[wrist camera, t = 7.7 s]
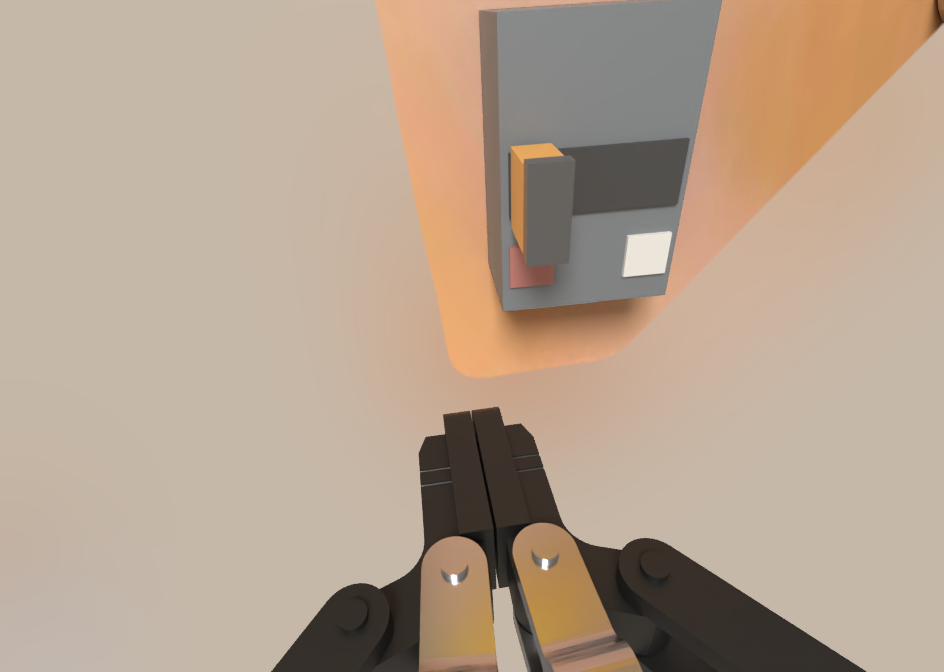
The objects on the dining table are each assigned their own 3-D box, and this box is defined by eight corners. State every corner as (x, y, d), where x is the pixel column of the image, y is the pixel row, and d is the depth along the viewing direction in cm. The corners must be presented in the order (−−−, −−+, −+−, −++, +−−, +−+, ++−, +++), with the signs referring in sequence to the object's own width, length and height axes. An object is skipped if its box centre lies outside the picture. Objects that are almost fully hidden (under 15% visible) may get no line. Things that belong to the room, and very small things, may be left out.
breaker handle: (551, 137, 28) (575, 160, 24) (548, 229, 31) (568, 263, 27) (510, 140, 28) (527, 164, 24) (511, 232, 31) (526, 267, 27)
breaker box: (659, -2, 32) (725, -4, 26) (625, 249, 43) (666, 297, 36) (478, 10, 32) (497, 12, 25) (488, 262, 42) (503, 313, 35)
